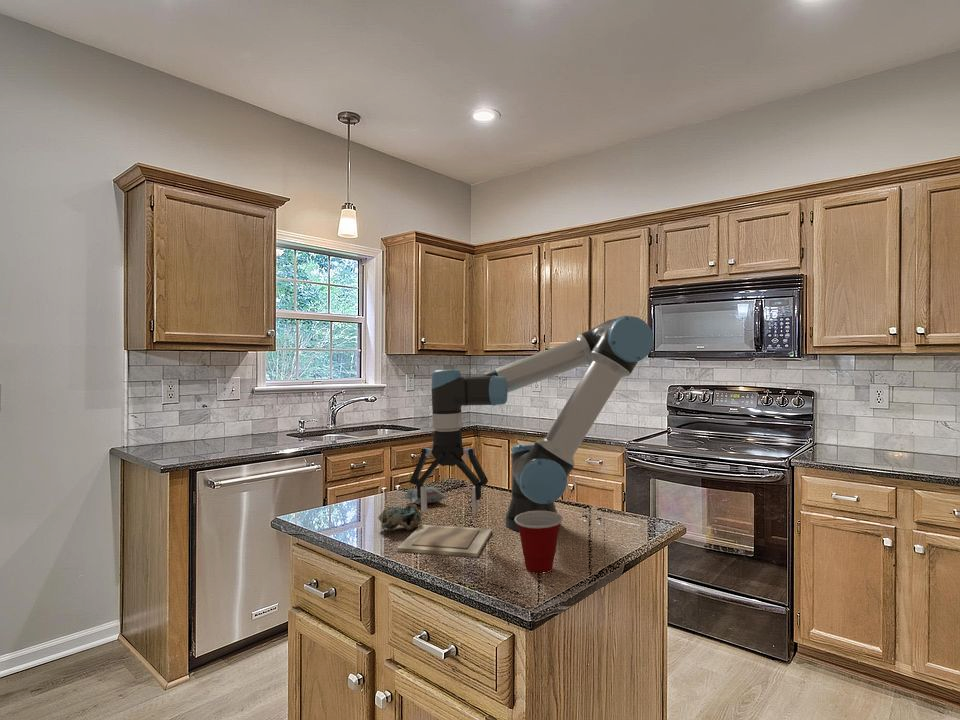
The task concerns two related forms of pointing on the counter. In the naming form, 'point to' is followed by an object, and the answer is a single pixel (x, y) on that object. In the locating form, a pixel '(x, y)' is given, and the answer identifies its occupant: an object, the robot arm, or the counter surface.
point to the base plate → (446, 540)
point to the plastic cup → (538, 538)
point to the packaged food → (432, 495)
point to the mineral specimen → (401, 517)
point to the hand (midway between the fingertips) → (449, 511)
